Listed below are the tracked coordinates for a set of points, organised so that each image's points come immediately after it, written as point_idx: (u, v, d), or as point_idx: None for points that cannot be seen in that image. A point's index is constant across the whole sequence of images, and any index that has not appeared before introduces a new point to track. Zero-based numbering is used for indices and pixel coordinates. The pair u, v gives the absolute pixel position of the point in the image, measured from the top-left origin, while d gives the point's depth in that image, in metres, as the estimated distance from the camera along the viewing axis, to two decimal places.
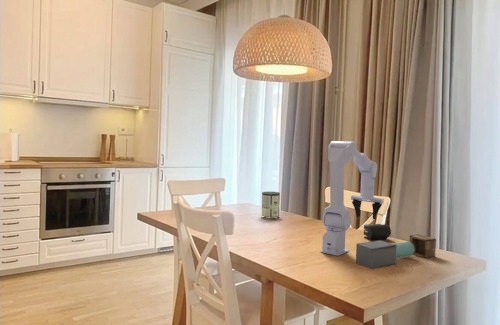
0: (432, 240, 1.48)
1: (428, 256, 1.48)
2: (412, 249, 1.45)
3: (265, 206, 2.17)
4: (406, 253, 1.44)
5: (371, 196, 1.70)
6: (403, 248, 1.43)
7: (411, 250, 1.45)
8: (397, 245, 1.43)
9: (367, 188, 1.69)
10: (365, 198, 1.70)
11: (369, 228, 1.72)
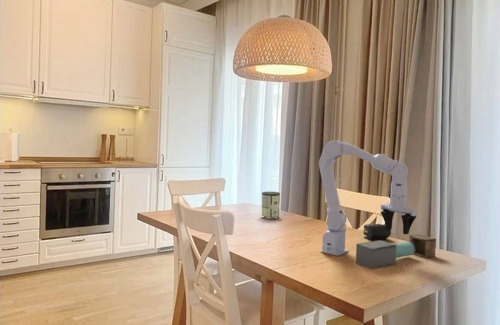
0: (432, 240, 1.48)
1: (428, 256, 1.48)
2: (412, 249, 1.45)
3: (265, 206, 2.17)
4: (406, 253, 1.44)
5: (402, 206, 1.41)
6: (403, 248, 1.43)
7: (411, 250, 1.45)
8: (397, 245, 1.43)
9: (396, 196, 1.41)
10: (394, 208, 1.42)
11: (369, 228, 1.72)
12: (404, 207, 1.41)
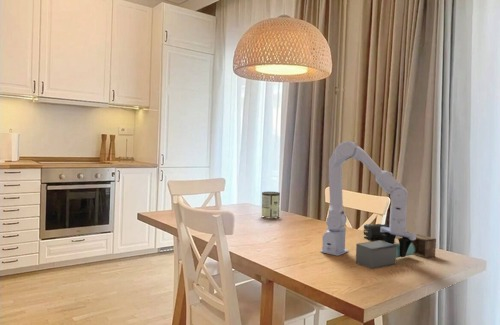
0: (432, 240, 1.48)
1: (428, 256, 1.48)
2: (412, 249, 1.45)
3: (265, 206, 2.17)
4: (406, 253, 1.44)
5: (401, 230, 1.41)
6: None
7: (411, 250, 1.45)
8: (397, 245, 1.43)
9: (396, 220, 1.41)
10: (393, 232, 1.42)
11: (369, 228, 1.72)
12: (403, 231, 1.41)
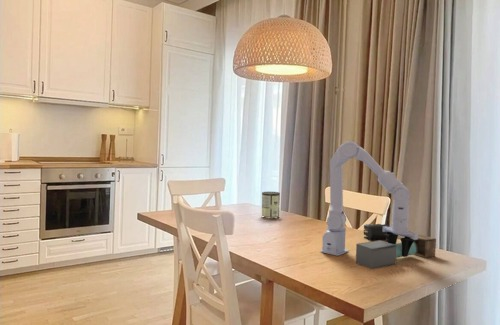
0: (432, 240, 1.48)
1: (428, 256, 1.48)
2: (414, 249, 1.45)
3: (265, 206, 2.17)
4: (408, 253, 1.44)
5: (403, 229, 1.42)
6: None
7: (413, 250, 1.45)
8: (399, 245, 1.43)
9: (398, 220, 1.42)
10: (395, 231, 1.42)
11: (369, 228, 1.72)
12: (406, 230, 1.42)
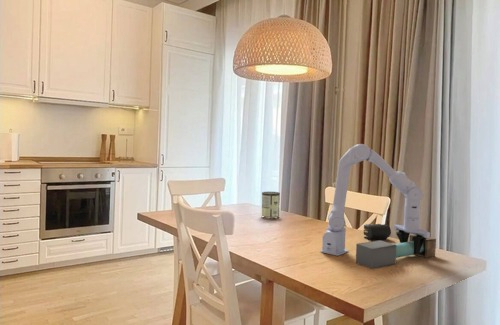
0: (432, 240, 1.48)
1: (428, 256, 1.48)
2: None
3: (265, 206, 2.17)
4: (420, 250, 1.48)
5: (415, 228, 1.45)
6: None
7: None
8: (411, 243, 1.47)
9: (410, 218, 1.45)
10: (407, 230, 1.46)
11: (369, 228, 1.72)
12: (417, 229, 1.45)
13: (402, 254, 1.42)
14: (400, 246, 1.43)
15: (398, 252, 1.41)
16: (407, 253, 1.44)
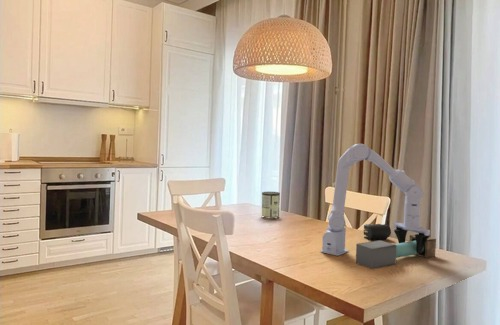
0: (432, 240, 1.48)
1: (428, 256, 1.48)
2: None
3: (265, 206, 2.17)
4: None
5: (415, 225, 1.45)
6: None
7: None
8: (411, 243, 1.47)
9: (410, 216, 1.45)
10: (407, 227, 1.46)
11: (369, 228, 1.72)
12: (417, 226, 1.45)
13: (402, 254, 1.42)
14: (400, 246, 1.43)
15: (398, 252, 1.41)
16: (407, 253, 1.44)
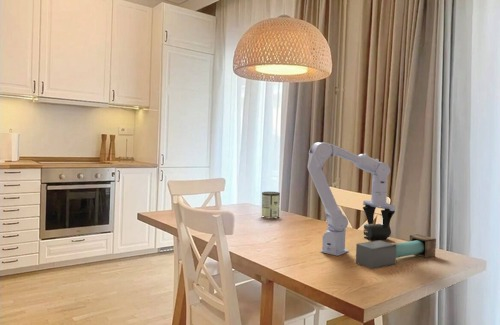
0: (432, 240, 1.48)
1: (428, 256, 1.48)
2: None
3: (265, 206, 2.17)
4: (420, 250, 1.48)
5: (381, 202, 1.51)
6: (417, 246, 1.47)
7: None
8: (411, 243, 1.47)
9: (376, 192, 1.51)
10: (374, 204, 1.52)
11: (369, 228, 1.72)
12: (384, 202, 1.51)
13: (402, 254, 1.42)
14: (400, 246, 1.43)
15: (398, 252, 1.41)
16: (407, 253, 1.44)
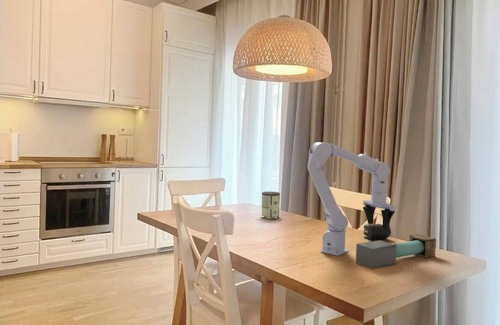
0: (432, 240, 1.48)
1: (428, 256, 1.48)
2: None
3: (265, 206, 2.17)
4: (420, 250, 1.48)
5: (381, 202, 1.51)
6: (417, 246, 1.47)
7: None
8: (411, 243, 1.47)
9: (376, 192, 1.51)
10: (374, 204, 1.52)
11: (369, 228, 1.72)
12: (384, 202, 1.51)
13: (402, 254, 1.42)
14: (400, 246, 1.43)
15: (398, 252, 1.41)
16: (407, 253, 1.44)
